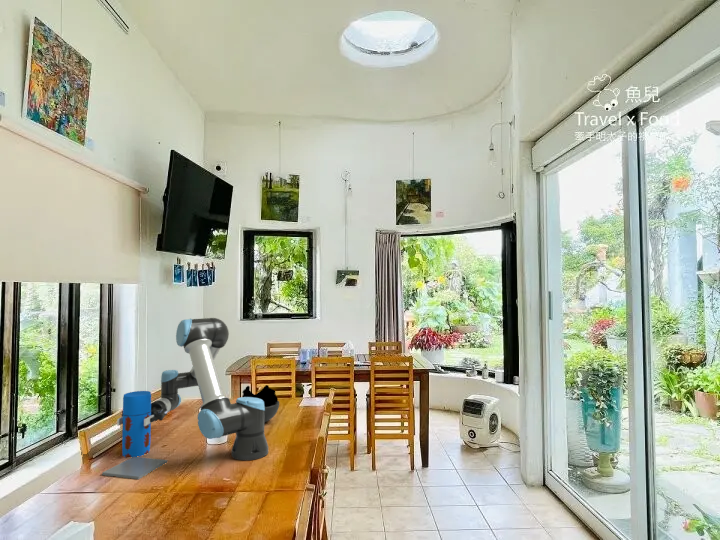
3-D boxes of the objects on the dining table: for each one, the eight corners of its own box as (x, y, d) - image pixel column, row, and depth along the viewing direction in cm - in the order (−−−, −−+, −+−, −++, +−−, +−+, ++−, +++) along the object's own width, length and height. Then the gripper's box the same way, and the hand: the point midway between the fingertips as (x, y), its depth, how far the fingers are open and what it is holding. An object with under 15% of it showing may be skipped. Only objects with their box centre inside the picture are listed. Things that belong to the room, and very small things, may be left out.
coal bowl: (287, 420, 231) (287, 384, 231) (259, 431, 214) (259, 392, 215) (260, 414, 241) (260, 380, 242) (231, 424, 224) (232, 387, 225)
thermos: (138, 458, 179) (139, 397, 180) (115, 456, 181) (117, 396, 182) (155, 449, 190) (156, 391, 191) (134, 447, 192) (135, 390, 193)
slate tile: (167, 462, 175) (167, 460, 175) (138, 479, 159) (138, 476, 159) (133, 459, 179) (133, 456, 179) (102, 475, 163) (102, 472, 163)
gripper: (182, 416, 203) (158, 432, 181) (134, 416, 205) (104, 431, 183) (183, 400, 203) (158, 413, 182) (135, 399, 205) (104, 413, 183)
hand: (131, 422), depth 182 cm, fingers closed on thermos, 11 cm apart
